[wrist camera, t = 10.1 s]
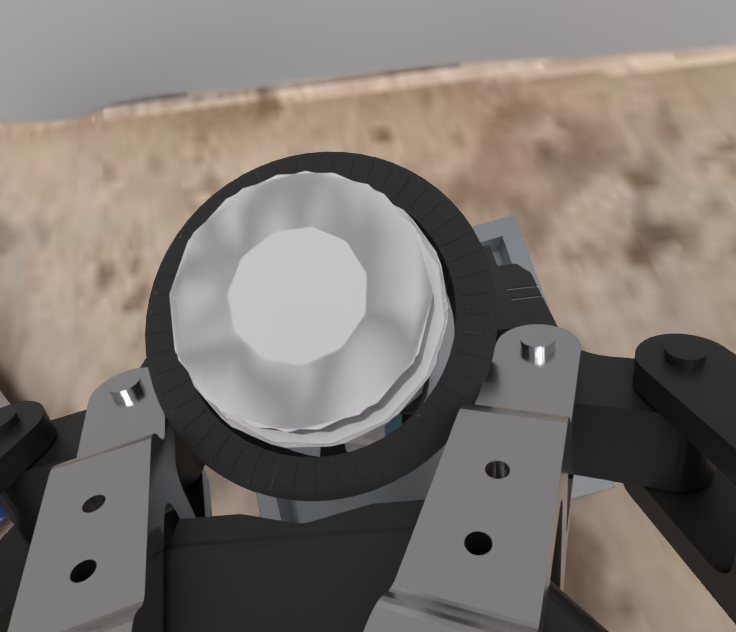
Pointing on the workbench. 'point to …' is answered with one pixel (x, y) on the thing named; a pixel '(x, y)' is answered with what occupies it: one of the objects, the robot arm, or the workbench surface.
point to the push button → (320, 325)
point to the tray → (417, 483)
